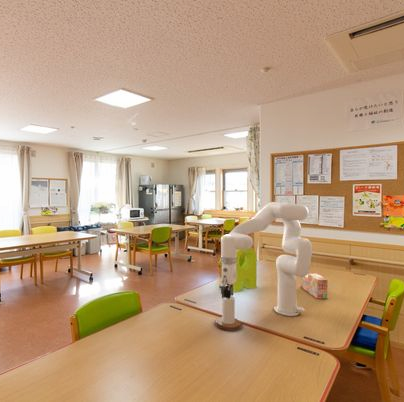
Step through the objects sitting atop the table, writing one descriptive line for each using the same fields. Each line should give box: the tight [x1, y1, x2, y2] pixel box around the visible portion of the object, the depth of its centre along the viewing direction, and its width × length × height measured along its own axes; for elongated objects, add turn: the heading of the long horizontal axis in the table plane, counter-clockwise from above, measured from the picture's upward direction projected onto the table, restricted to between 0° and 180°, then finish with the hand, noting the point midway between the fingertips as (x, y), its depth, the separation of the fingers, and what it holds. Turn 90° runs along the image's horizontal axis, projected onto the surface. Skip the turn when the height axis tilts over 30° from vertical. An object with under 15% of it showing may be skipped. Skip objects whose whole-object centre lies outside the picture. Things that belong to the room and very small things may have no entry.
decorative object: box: [233, 246, 258, 293], centre depth 199 cm, size 20×7×30 cm, turn 118°
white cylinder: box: [216, 284, 241, 329], centre depth 145 cm, size 12×12×19 cm
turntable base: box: [214, 319, 243, 332], centre depth 146 cm, size 13×13×1 cm
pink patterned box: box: [300, 273, 329, 300], centre depth 190 cm, size 21×6×12 cm, turn 179°
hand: (228, 295), depth 145 cm, fingers closed on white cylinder, 3 cm apart
